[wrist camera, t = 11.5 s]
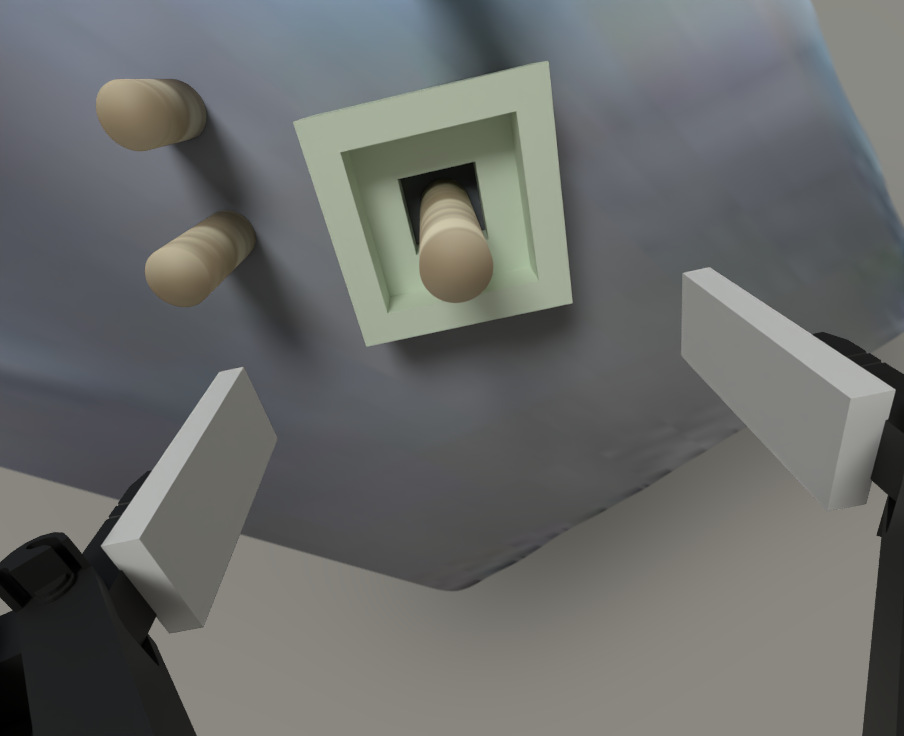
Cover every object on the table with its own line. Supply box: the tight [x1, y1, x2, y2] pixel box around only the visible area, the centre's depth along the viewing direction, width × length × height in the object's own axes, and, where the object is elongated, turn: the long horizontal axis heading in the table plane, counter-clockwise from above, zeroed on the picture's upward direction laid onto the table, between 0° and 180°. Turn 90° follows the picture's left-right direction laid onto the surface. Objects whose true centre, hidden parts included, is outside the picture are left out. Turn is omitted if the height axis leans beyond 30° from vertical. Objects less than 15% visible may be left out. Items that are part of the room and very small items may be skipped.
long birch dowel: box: [419, 178, 493, 303], centre depth 30 cm, size 3×3×14 cm
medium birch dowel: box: [145, 210, 256, 307], centre depth 32 cm, size 3×3×9 cm
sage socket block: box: [293, 61, 573, 347], centre depth 33 cm, size 14×14×6 cm
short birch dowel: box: [96, 79, 207, 151], centre depth 30 cm, size 3×3×6 cm
